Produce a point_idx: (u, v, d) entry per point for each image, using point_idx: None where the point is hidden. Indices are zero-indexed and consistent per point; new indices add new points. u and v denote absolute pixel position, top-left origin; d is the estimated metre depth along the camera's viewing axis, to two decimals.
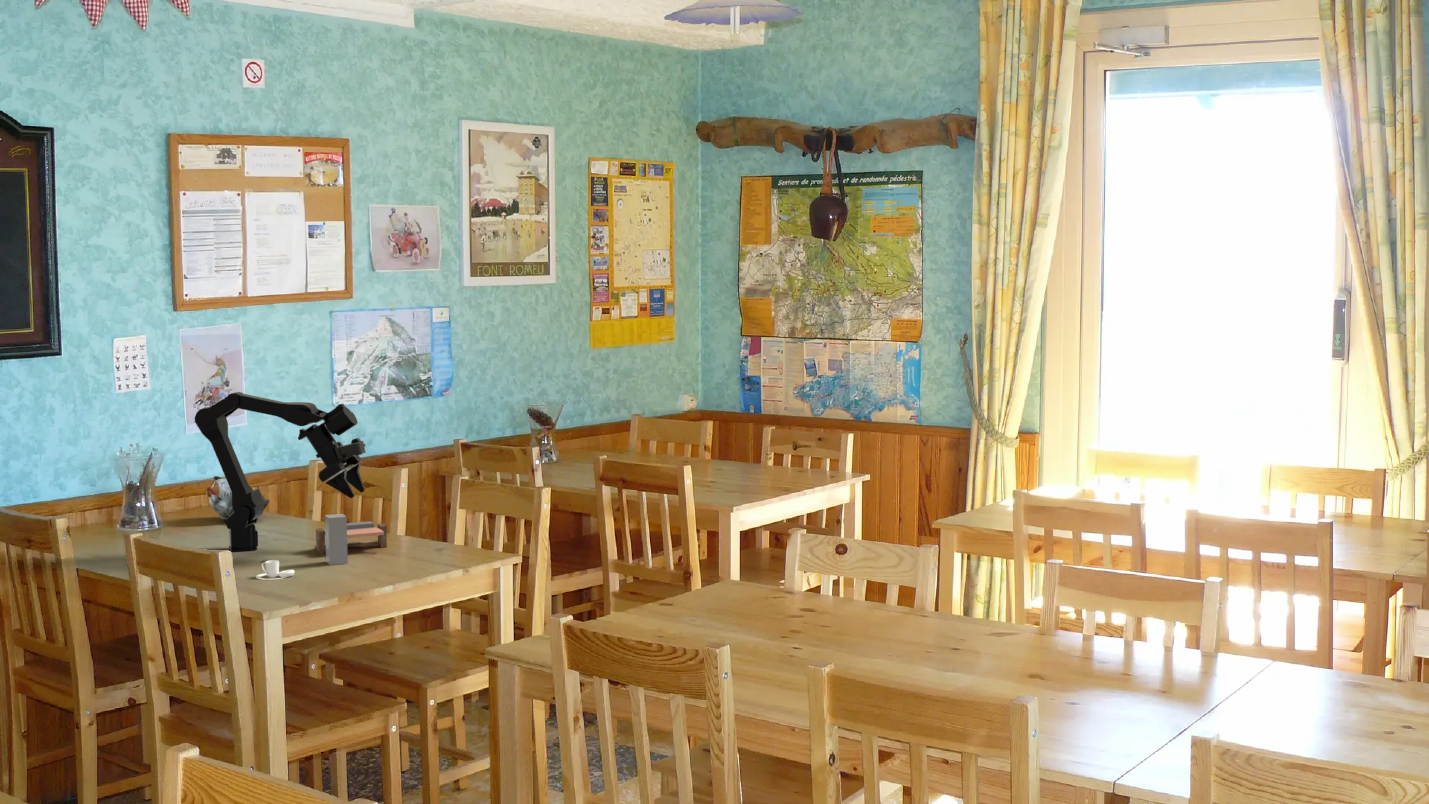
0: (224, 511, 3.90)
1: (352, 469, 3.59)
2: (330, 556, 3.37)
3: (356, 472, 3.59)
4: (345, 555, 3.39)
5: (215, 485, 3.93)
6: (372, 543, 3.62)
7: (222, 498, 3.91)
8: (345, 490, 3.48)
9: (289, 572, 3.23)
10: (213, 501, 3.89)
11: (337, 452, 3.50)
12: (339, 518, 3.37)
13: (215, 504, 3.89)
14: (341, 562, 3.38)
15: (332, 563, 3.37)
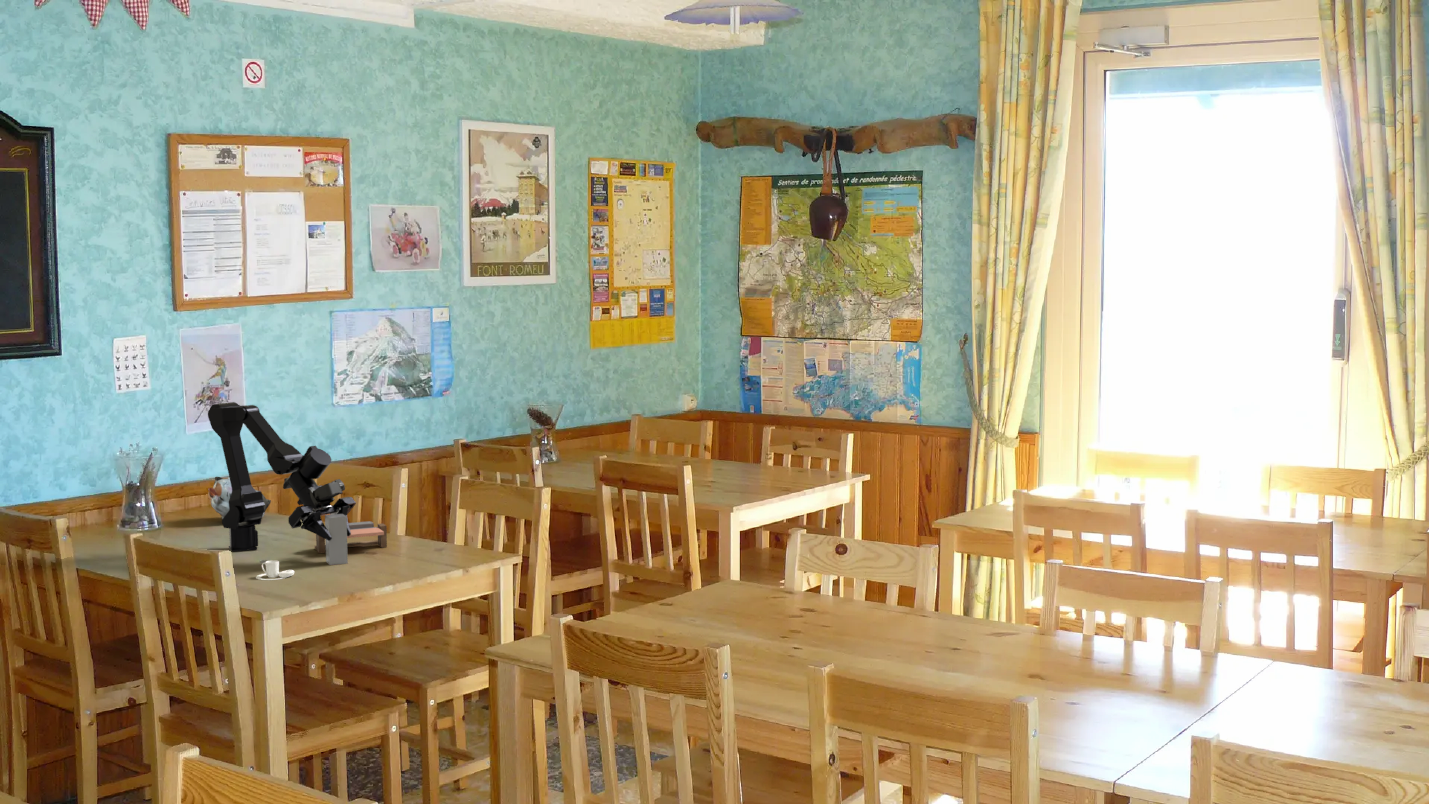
0: (227, 511, 3.90)
1: (338, 513, 3.44)
2: (330, 556, 3.37)
3: None
4: (345, 555, 3.39)
5: (217, 485, 3.92)
6: (372, 543, 3.62)
7: (224, 499, 3.90)
8: (321, 532, 3.36)
9: (289, 572, 3.23)
10: (216, 502, 3.88)
11: (311, 496, 3.39)
12: (339, 518, 3.37)
13: (218, 505, 3.88)
14: (341, 562, 3.38)
15: (332, 563, 3.37)
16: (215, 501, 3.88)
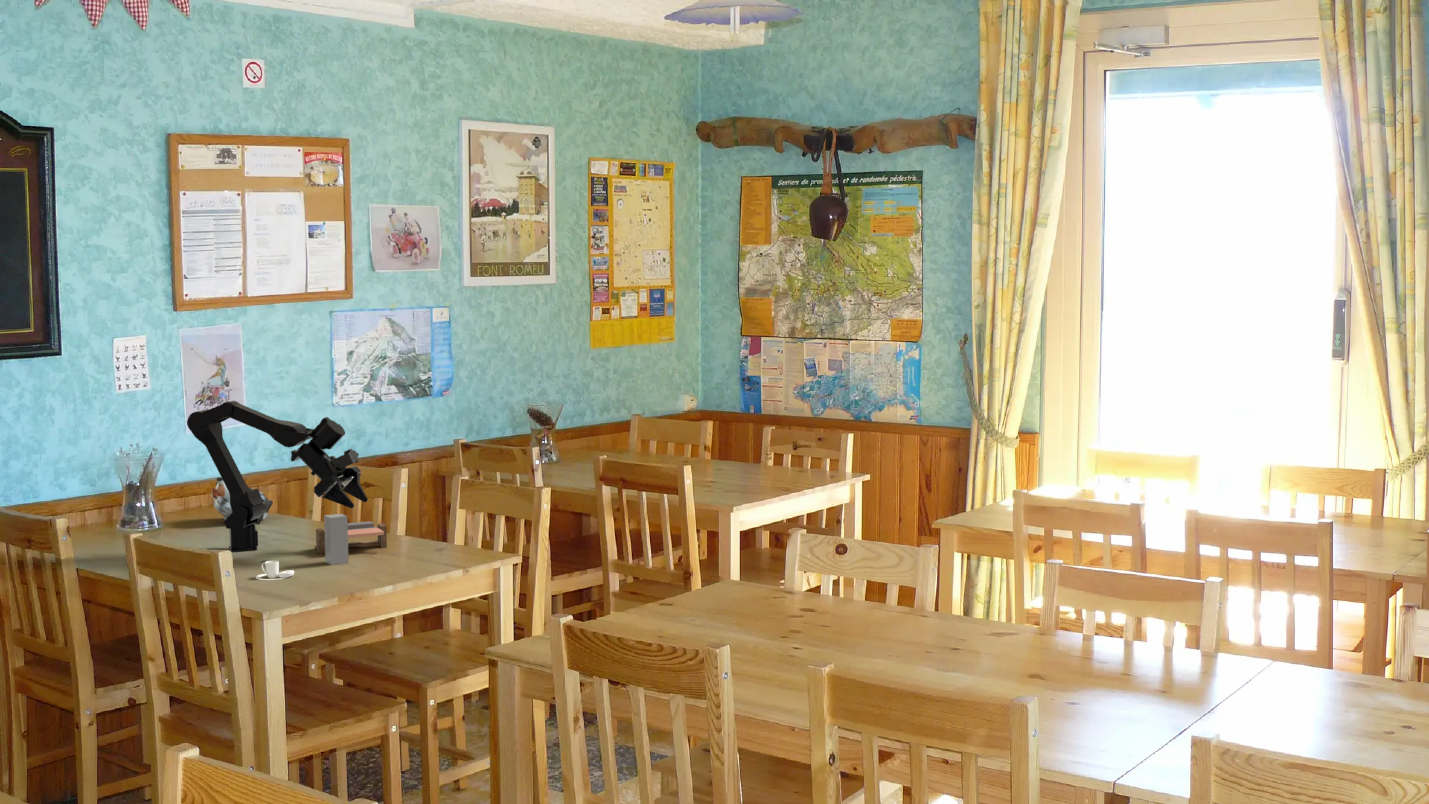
0: (230, 512, 3.89)
1: (352, 481, 3.56)
2: (331, 556, 3.37)
3: (356, 483, 3.56)
4: (346, 555, 3.39)
5: (220, 486, 3.91)
6: (372, 543, 3.62)
7: (228, 500, 3.89)
8: (343, 501, 3.46)
9: (289, 572, 3.23)
10: (219, 502, 3.87)
11: (330, 465, 3.48)
12: (340, 518, 3.38)
13: (221, 505, 3.87)
14: (342, 562, 3.39)
15: (333, 563, 3.38)
16: (219, 502, 3.87)
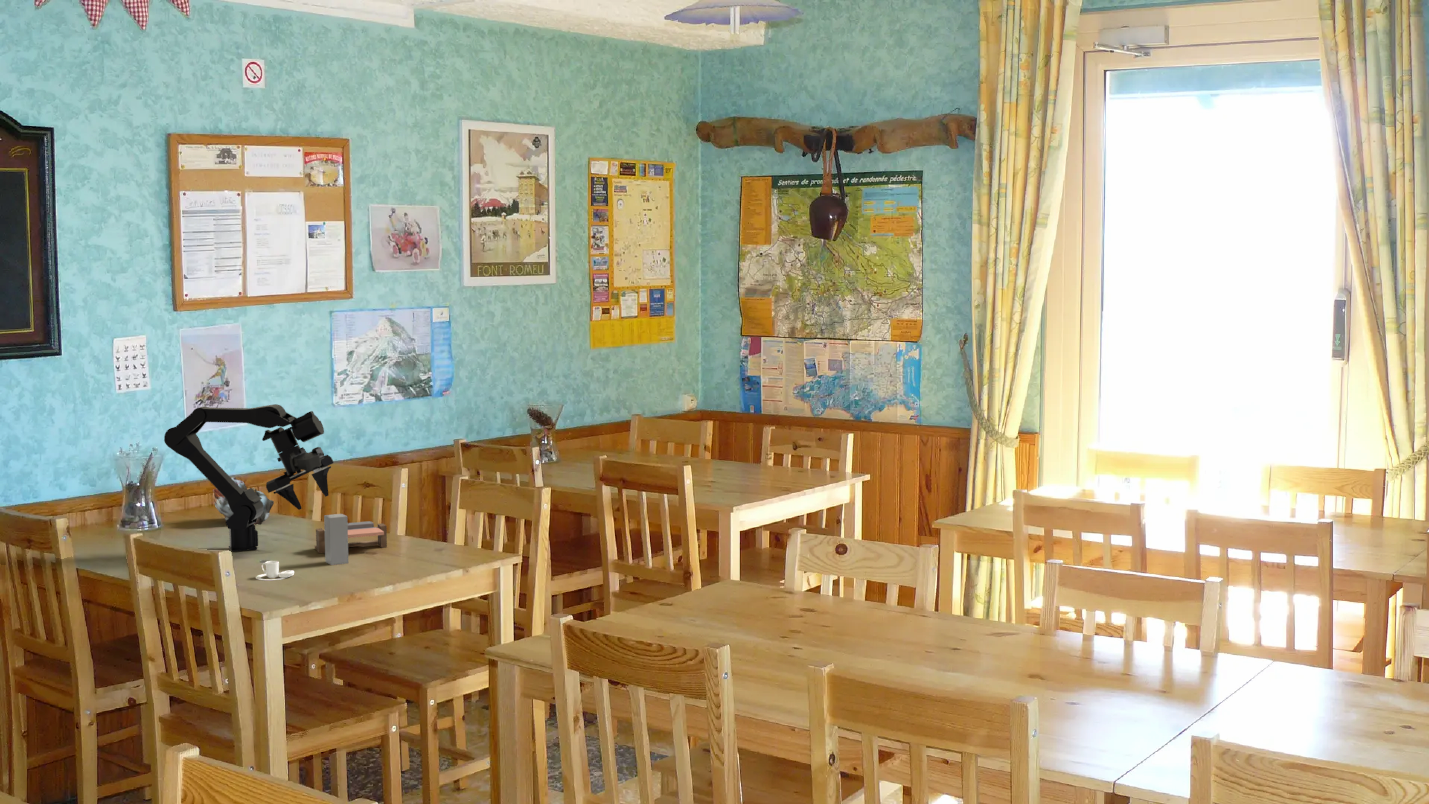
0: (232, 513, 3.88)
1: (319, 472, 3.59)
2: (331, 556, 3.37)
3: (322, 476, 3.58)
4: (346, 555, 3.39)
5: None
6: (372, 543, 3.62)
7: None
8: (292, 501, 3.51)
9: (289, 573, 3.23)
10: (221, 503, 3.86)
11: (291, 463, 3.51)
12: (340, 518, 3.38)
13: (223, 506, 3.87)
14: (342, 562, 3.39)
15: (333, 563, 3.38)
16: (221, 502, 3.86)
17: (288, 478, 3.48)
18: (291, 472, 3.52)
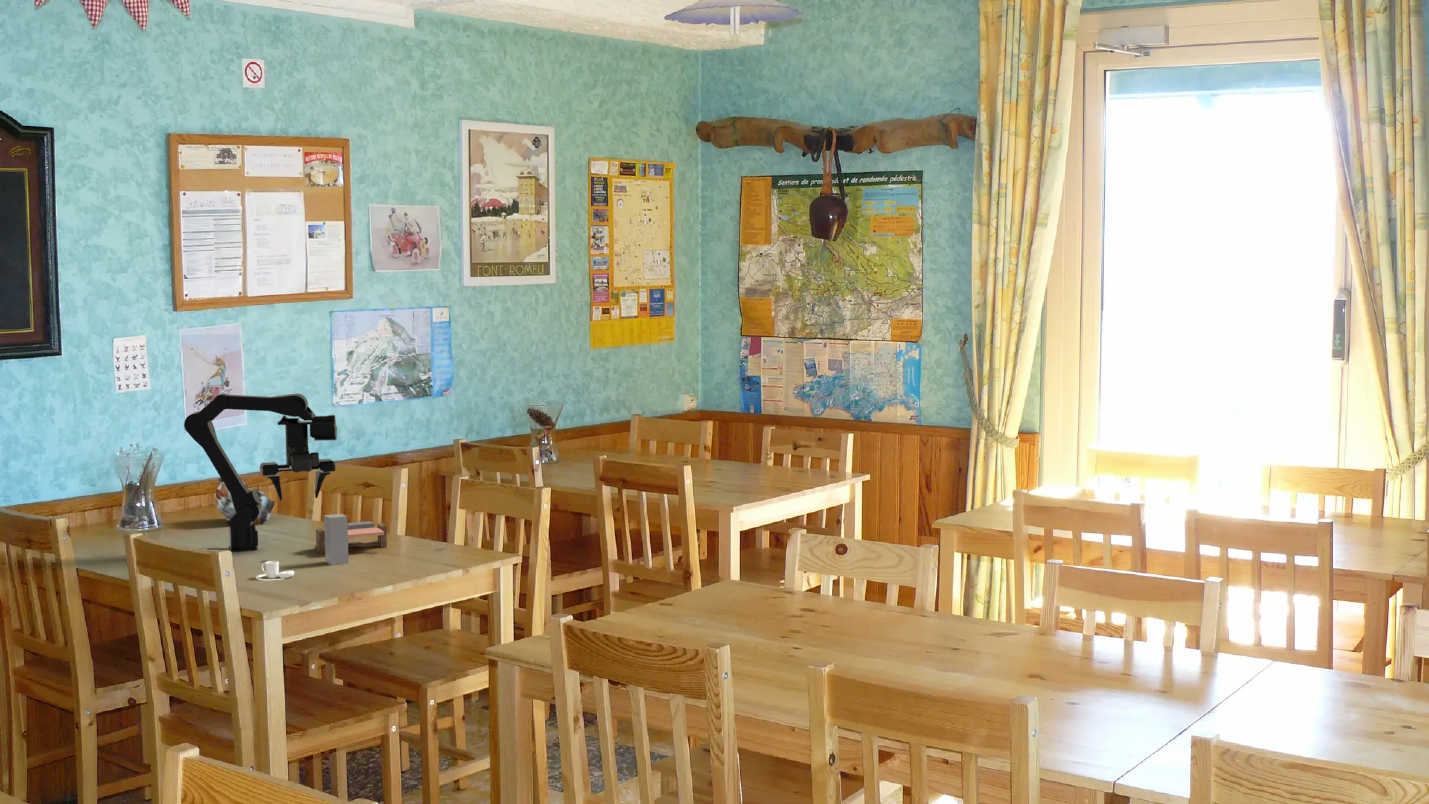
0: (234, 513, 3.88)
1: (318, 474, 3.59)
2: (331, 556, 3.37)
3: (317, 478, 3.59)
4: (346, 555, 3.39)
5: (223, 487, 3.90)
6: (372, 543, 3.62)
7: (231, 500, 3.88)
8: (276, 490, 3.56)
9: (289, 573, 3.22)
10: (223, 503, 3.86)
11: (288, 456, 3.53)
12: (340, 518, 3.38)
13: (225, 506, 3.86)
14: (342, 562, 3.39)
15: (333, 563, 3.38)
16: (223, 502, 3.85)
17: (276, 469, 3.52)
18: (287, 464, 3.55)
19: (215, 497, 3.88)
